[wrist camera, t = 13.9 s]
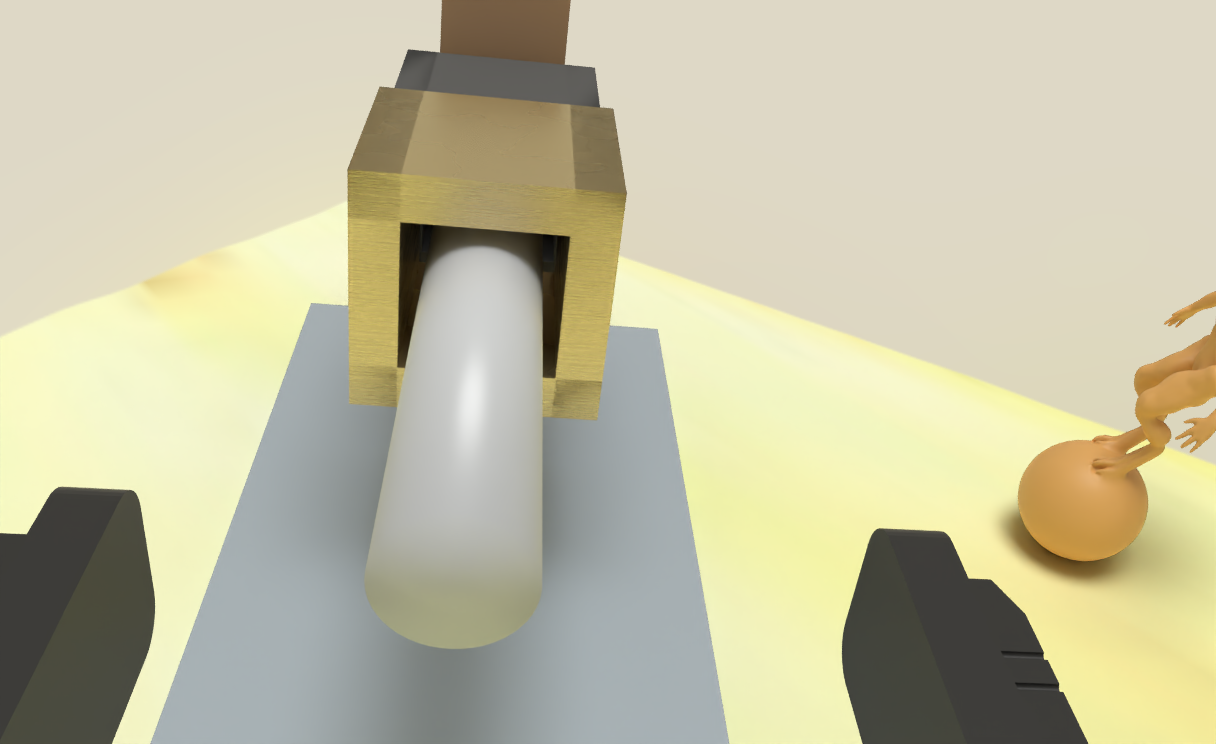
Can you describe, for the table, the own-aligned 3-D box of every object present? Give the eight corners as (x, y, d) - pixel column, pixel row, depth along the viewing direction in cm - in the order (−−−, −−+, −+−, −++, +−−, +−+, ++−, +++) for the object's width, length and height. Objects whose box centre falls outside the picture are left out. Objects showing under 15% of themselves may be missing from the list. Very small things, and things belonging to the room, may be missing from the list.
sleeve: (589, 310, 35) (613, 108, 32) (597, 420, 30) (626, 193, 26) (377, 294, 34) (379, 86, 31) (349, 403, 29) (347, 169, 26)
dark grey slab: (576, 235, 39) (594, 67, 36) (579, 290, 35) (600, 109, 32) (404, 221, 38) (408, 49, 35) (390, 275, 35) (393, 90, 32)
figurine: (1011, 465, 43) (1122, 163, 36) (1180, 515, 41) (1327, 209, 35) (993, 602, 36) (1126, 260, 30) (1195, 667, 34) (1379, 321, 28)
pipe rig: (654, 345, 47) (716, -50, 39) (753, 940, 25) (941, 317, 17) (311, 320, 46) (300, -96, 38) (96, 927, 24) (-43, 240, 16)
